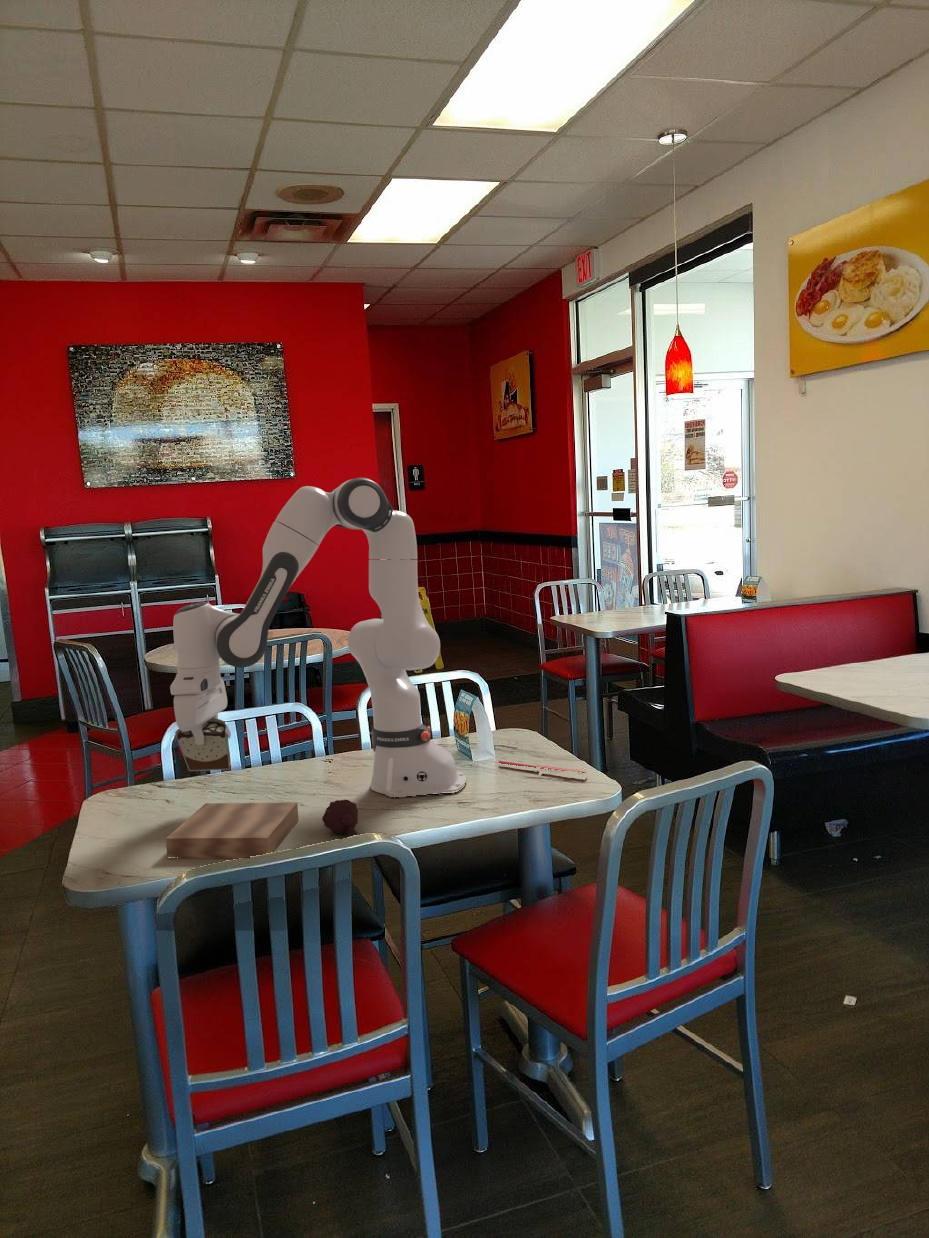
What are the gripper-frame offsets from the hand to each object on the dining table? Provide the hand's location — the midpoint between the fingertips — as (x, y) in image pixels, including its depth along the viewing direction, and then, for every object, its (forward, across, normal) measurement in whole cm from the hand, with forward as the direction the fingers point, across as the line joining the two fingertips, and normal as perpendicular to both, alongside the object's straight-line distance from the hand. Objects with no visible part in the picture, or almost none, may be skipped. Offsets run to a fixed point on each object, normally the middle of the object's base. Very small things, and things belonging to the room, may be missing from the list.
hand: (206, 739), depth 197 cm
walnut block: (+16, +18, +11) cm, 26 cm away
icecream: (+17, +14, +32) cm, 39 cm away
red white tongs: (+19, -24, +72) cm, 78 cm away
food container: (+6, -3, 0) cm, 7 cm away
